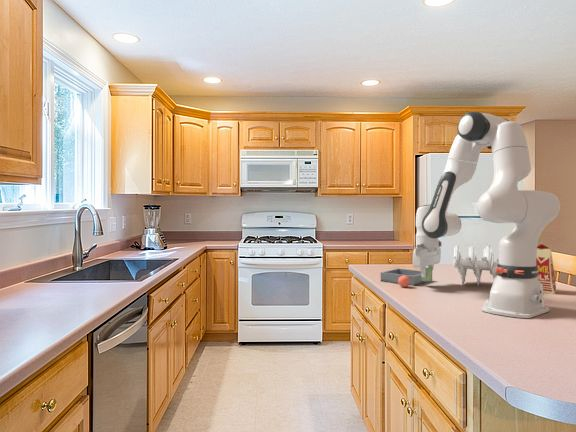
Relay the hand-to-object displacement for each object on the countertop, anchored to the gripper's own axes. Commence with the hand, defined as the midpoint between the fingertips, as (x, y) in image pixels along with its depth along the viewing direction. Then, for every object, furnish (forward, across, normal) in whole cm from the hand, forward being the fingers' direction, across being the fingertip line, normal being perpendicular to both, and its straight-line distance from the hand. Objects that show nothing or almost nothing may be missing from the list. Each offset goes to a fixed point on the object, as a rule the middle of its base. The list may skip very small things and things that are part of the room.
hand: (426, 276), depth 175 cm
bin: (+4, +5, +12) cm, 14 cm away
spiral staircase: (+5, +18, -18) cm, 26 cm away
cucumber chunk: (+2, 0, 0) cm, 2 cm away
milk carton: (+5, +21, -38) cm, 44 cm away
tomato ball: (+4, -8, +7) cm, 11 cm away
